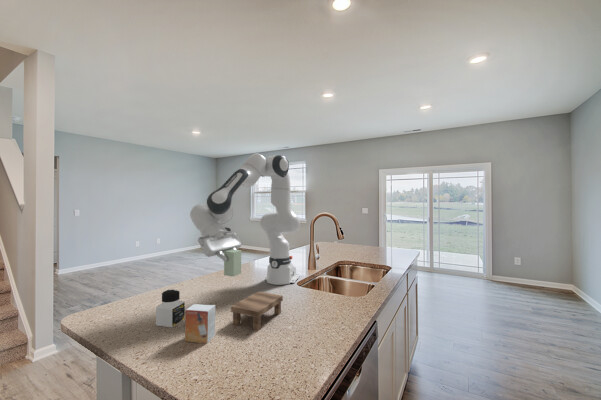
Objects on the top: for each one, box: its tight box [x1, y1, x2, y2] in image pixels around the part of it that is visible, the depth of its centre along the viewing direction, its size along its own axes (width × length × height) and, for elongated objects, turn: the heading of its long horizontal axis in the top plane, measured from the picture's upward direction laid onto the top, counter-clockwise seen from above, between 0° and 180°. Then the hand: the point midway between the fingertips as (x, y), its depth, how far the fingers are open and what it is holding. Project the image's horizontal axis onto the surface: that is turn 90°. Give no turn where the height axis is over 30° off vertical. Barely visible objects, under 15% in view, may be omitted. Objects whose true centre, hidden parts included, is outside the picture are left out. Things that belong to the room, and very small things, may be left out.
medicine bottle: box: [155, 288, 186, 328], centre depth 101 cm, size 7×7×12 cm
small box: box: [184, 303, 216, 345], centre depth 89 cm, size 8×6×10 cm
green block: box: [223, 249, 242, 277], centre depth 113 cm, size 5×5×10 cm
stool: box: [230, 291, 284, 332], centre depth 105 cm, size 18×12×7 cm, turn 155°
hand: (232, 259), depth 114 cm, fingers closed on green block, 5 cm apart
